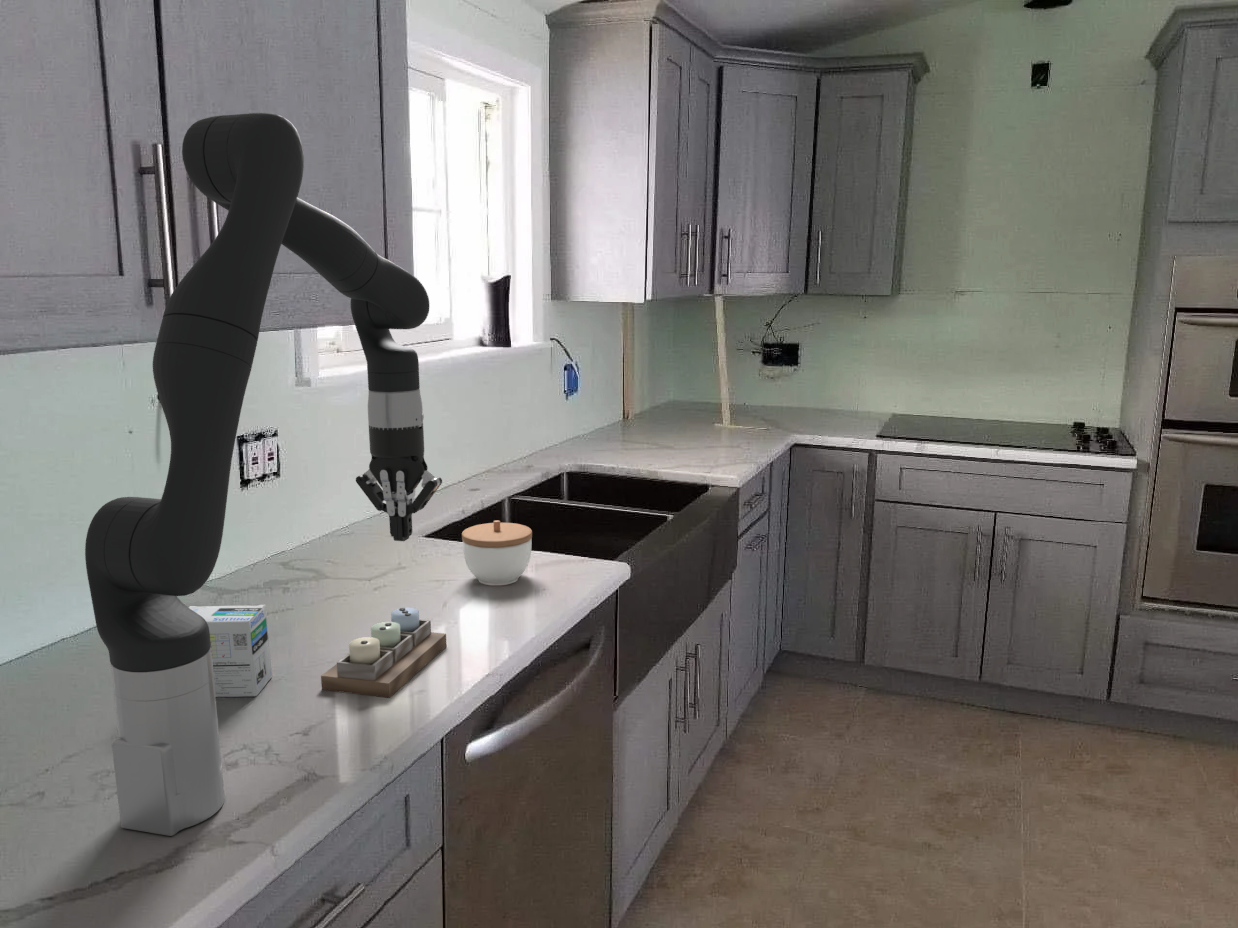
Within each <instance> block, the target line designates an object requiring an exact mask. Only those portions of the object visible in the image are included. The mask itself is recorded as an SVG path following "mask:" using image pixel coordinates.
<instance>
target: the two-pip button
mask: <svg viewBox="0 0 1238 928" xmlns="http://www.w3.org/2000/svg"><path fill="white" fill-rule="evenodd" d="M370 635H371V636H370V637H373V638H377V639H378V640H379V641H380V647H389V648H394V647H395V646H397V645H398V644H399V643H400V642H401V634H400V624H398V623H396V622H392V621H383V622H378V623H375V624H373V625H372V626H371V627H370Z"/></svg>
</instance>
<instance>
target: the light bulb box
mask: <svg viewBox="0 0 1238 928" xmlns="http://www.w3.org/2000/svg"><path fill="white" fill-rule="evenodd" d="M187 607H188V606H187ZM188 608H190V609H191V610H193V611H194V612H196V613H197V614H199V615H200V616H202V617H203V618H204V619H205V621H206V622H207V624H208V626H209V631H210V641H211V652H212V663H213V675H214V686H215V697H216V698H225V697H226V698H228V697H231V698H232V697H234V698H236V697H237V698H239V697H257V696H258V695H259V694H260V693H261V692H262V690H263V689H264V688H265V686H266V685H267V684H268V682H269V681H270V680H271V679H272V677H273V667H272V658H271V657H272V656H271V646H270V636H269V635H270V634H269V625H268V613H267V605H266V604H247V605H212V606H211V605H205V606H196V605H189V607H188Z"/></svg>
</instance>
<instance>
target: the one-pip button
mask: <svg viewBox="0 0 1238 928" xmlns="http://www.w3.org/2000/svg"><path fill="white" fill-rule="evenodd" d="M348 652H349V653H348V654H350V663H358V664H367V665H373V664H374V663H375V662H377V661H378V660H379V659H380V641H379V640H378V639H377V638H373V637H371V636H365V637H363V636H362V637H359V638H354V639H352V640H351V641H349V643H348Z"/></svg>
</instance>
